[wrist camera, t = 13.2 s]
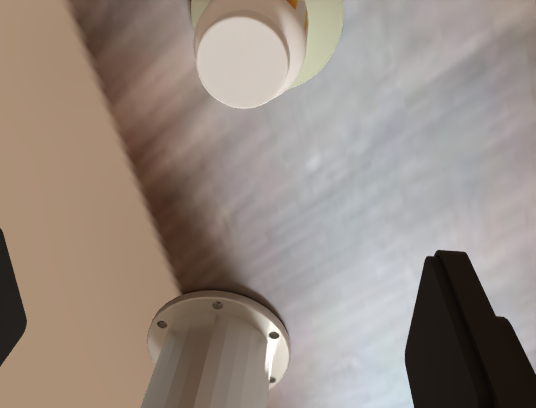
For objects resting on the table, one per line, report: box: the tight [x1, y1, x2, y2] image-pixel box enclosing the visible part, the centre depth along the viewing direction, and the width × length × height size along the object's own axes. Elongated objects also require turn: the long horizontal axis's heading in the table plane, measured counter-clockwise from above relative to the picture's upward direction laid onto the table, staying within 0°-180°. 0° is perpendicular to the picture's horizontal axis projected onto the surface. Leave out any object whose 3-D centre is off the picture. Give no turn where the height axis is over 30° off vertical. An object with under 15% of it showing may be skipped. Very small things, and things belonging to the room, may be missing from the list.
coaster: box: [191, 0, 344, 89], centre depth 30 cm, size 9×9×1 cm
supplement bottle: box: [194, 0, 308, 109], centre depth 25 cm, size 5×5×10 cm
